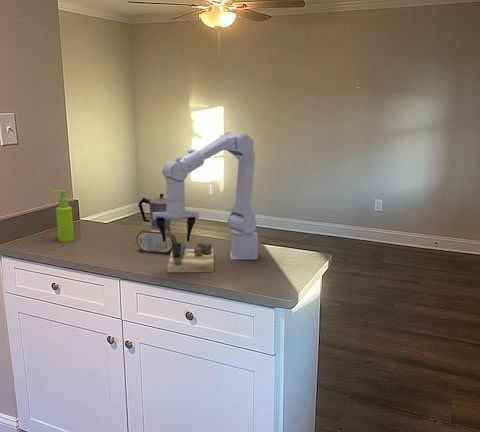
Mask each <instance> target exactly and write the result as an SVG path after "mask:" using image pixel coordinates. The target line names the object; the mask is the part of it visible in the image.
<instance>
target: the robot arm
mask: <svg viewBox="0 0 480 432" xmlns="http://www.w3.org/2000/svg"><path fill="white" fill-rule="evenodd" d="M254 142H255V141H254V140H253V138H252V137H251V136H250V135H249V134H248V133H238V132H237V133H236V132H230V131H228V132H225V133H224V134H222V135H219V137H218V138H216V139H215V140H213V141H211V142H210V143H208V144H207V145H206V146H204V147H202V148H201V149H188V150H187V153H185V154H183V155H181V156H177V157H175V160H169V161H167V162H166V163H165V165H164V166H163V169H161V172H162V175H163V177H164V178H165V188H166V190H165V191H166V193H165V194H166V199H167V211H166V212H153V219H156V223H157V225H158V227H159V229H160V232H161V234H162V238H163V241H166V234H165V219H171V220H177V219H178V220H186V219H187V220H186V225H187V226H186V228H187V236H186V241H187V242H190V238H191V237H190V236H191V234H192V233H191V232H192V231H193V227H194V225H195V224H196V220H200V215H199V214H200V212H199V211H186V208H185V207H186V206H185V205H186V204H185V203H186V202H185V201H186V199H185V196H186V195H185V194H186V193H185V192H186V191H185V180H186V179H187V177H188V175H189V174H190V173H192V172H193V171H195V170H197V169H198V168H200V167H202V166H203V165H204V164H205V160H206V159H208V158H210V157H213V156H215V155H216V154H217V155H218V154H219V153H220V152H223V151H227V152H228V153H229V154H231V155H233V156H234V157H235V158H236V159H237V160H238V165H237V167H238V168H237V180H236V191H235V192H236V193H235V203H234V205H233V206H232V207H231V208H230V210H229V211H230V212H229V215H228V217H227V225H228V227H229V228H230V232H231V251H230V252H229V253H230V254H229V256H230V260H231V261H232V260H233V261H234V260H236V261H237V260H239V261H240V260H258V259H259V258H258V257H259V256H258V254H259V247H258V244H259V243H258V242H259V239H258V232H255V230H256V229H257V220H256V219H257V218H256V212H255V211H254V208H252V195H253V184H254V173H255V172H254V171H255V161H256V154H255V150H254Z"/></svg>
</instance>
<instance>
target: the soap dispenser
mask: <svg viewBox="0 0 480 432" xmlns="http://www.w3.org/2000/svg"><path fill="white" fill-rule="evenodd" d="M51 193H52V194H56V193H57V194H58V193H60V198H58V206H57V207H56V208H55V213H56V215H55V216H56V226H57V228H56V229H57V239H58V242H61V243H67V242H73V241H74V240H75V233H74V221H73V219H74V218H73V208H72V206H70V205H69V198H67V197H66V193H68V191H67V190H66V189H58V190H57V189H56V190H53V191H51Z"/></svg>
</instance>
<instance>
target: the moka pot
mask: <svg viewBox="0 0 480 432" xmlns="http://www.w3.org/2000/svg"><path fill="white" fill-rule="evenodd" d="M144 203H145V204H147V205H149V212H150V213H149V214H150V219H147V218H146V215H145V211H144V208H143V204H144ZM138 208H139V211H140V213H141V217H142V220H143V222H146V223H150V222H151V226H150V229H157V230H160V229H159V227H158V225H157V223H156V219H153V212H166V211H167V199H166V198H165V195H164V193H160V194H159V197H155V198H146V197H143V198H142V199H141V200H139V202H138ZM150 220H151V221H150ZM171 221H172V219H165V230H167V231H170V232H171V233H172V231H171Z"/></svg>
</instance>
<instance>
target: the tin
mask: <svg viewBox="0 0 480 432" xmlns="http://www.w3.org/2000/svg"><path fill="white" fill-rule="evenodd" d="M165 234H166V241H163V238H162V234H161V232H160V230H157V229H151V228H144V229H142V230H141V231H140V232H138V234H137V236H136V244H137V246H138V247H139V248H140V249H141V250H142V251H144V252H148V253H157V254H169V253H171V251H172V243H174V242H178V241H177V238H176V236H175V235H174V234H173V232H172V231H171V232H170V231H167V230H165Z"/></svg>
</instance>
